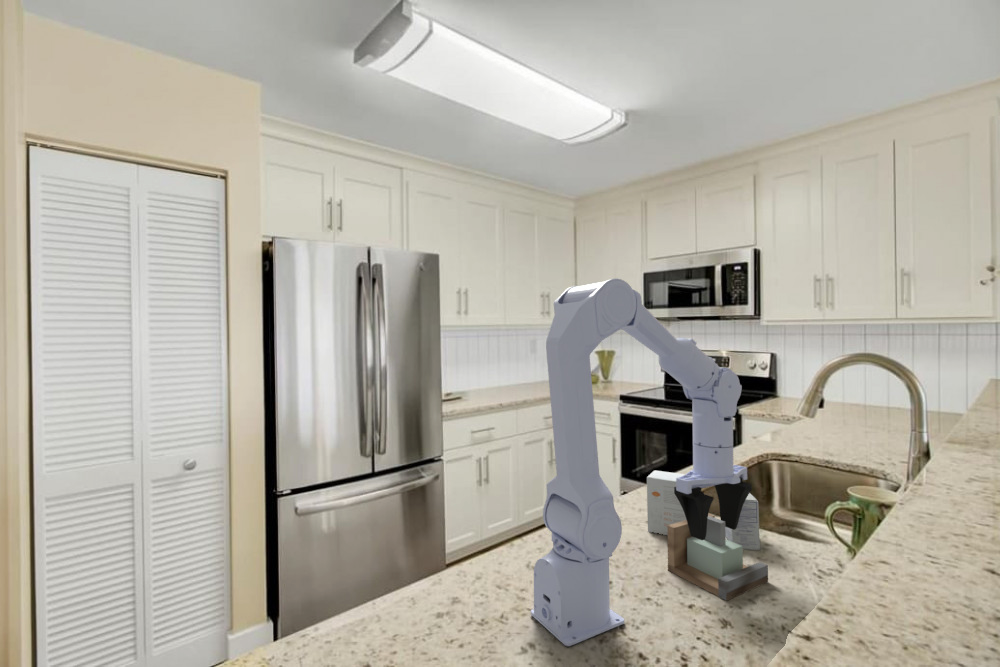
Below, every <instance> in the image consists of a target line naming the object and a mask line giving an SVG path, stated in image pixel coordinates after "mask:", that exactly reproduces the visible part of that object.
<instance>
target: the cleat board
mask: <svg viewBox="0 0 1000 667" xmlns="http://www.w3.org/2000/svg"><path fill="white" fill-rule="evenodd" d="M708 516H711V517H713V518H716V517H715V515H713V514H710V513H708ZM667 530H668V536H667V571H668V572H670V573H673V574H674V575H677V576H678V577H680V578H682V579H683V580H686V581H687V582H690V583H692V584H693V585H696V586H698V587H699V588H701V589H704V590H706V591H707V592H709V593H711V594H712V595H715V596H716V597H719V598H721V599H723V600H724V601H729V600H731V599H733V598H736V597H737V596H740V595H742V594H744V593H746V592H748V591H751V590H753V589H755V588H757V587H760V586H762V585H764V584H766V583H769V565H768V564H766V563H764V562H762V561H759V562H756V563H754V564H751V565H749V566H748V565H745V564H743V569H741V570H738V571H736V572H734V573H731V574H729V575H726V576H724V577H721V578H719V579H717V578H715V577H713V576H711V575H709V574H707V573H704V572H702V571H700V570H698V569H696V568H694V567H692V566H690V565H688V564H687V538H690V537H692V536H691V534H690V531H689V527H688V523H687V520H685V521H681V522H678V523H674V524H671V525H667Z"/></svg>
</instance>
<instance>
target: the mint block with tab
mask: <svg viewBox="0 0 1000 667" xmlns="http://www.w3.org/2000/svg"><path fill="white" fill-rule="evenodd" d="M743 551H744V549H743V546H742V545H739V544H737V543H734V542H732V541H729V540H728V539H727V538H726V535H725V521H722V520H721V519H718V518H716V517H715V518H713V517H711V516H708V518H707V532H706V537H705V540H700V539H697V538H695V537H690V538H687V564H688V565H690V566H692V567H694V568H696V569H698V570H700V571H702V572H704V573H707V574H709V575H711V576H713V577H715V578H717V579H719V578H721V577H724V576H726V575H729V574H731V573H734V572H736V571H738V570H741V569H743V565H744V560H743V558H744V557H743V556H744V555H743Z"/></svg>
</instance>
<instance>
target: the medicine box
mask: <svg viewBox="0 0 1000 667" xmlns="http://www.w3.org/2000/svg"><path fill="white" fill-rule="evenodd" d="M759 509H760V508H759V501H758V500H757V498H756V497H755V496H754V495H753V494H751V492H750V493H749V494H748V496H747V498H746V500H745V502H744V504H743V507H742V510H741V513H740V517H739V521H738V525H737V528H736V529H735V530H733V529H730V528H728V527H725V535H726V540H729V541H732V542H734V543H737V544H739V545H742V546H743V551H744V550H747V551H748V550H750V551H760V549H761V545H760V544H761V543H760V542H761V541H760V540H761V539H760V517H759V516H760V513H759V512H760V511H759Z"/></svg>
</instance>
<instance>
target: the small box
mask: <svg viewBox="0 0 1000 667" xmlns="http://www.w3.org/2000/svg"><path fill="white" fill-rule="evenodd" d="M685 474H686V473H679V472H678V473H677V472H669V471H662V470H653V471H652V472H651V473H650V474H648V476H646V502H647V503H646V506H647V508H646V509H647V532H648V531H649V533H652V532H654V533H653V534H657V533H659V534H658V535H662V534H663V535H662V536H667V537H668V530H667V525H671V524H674V523H678V522H681V521H685V520H686V516H685V513H684V511H683V508H682V506H681V504H680V502H679V500H678V499H677V497H676V495H675V494H674V487H676V478H678V477H681V476H683V475H685Z"/></svg>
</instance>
